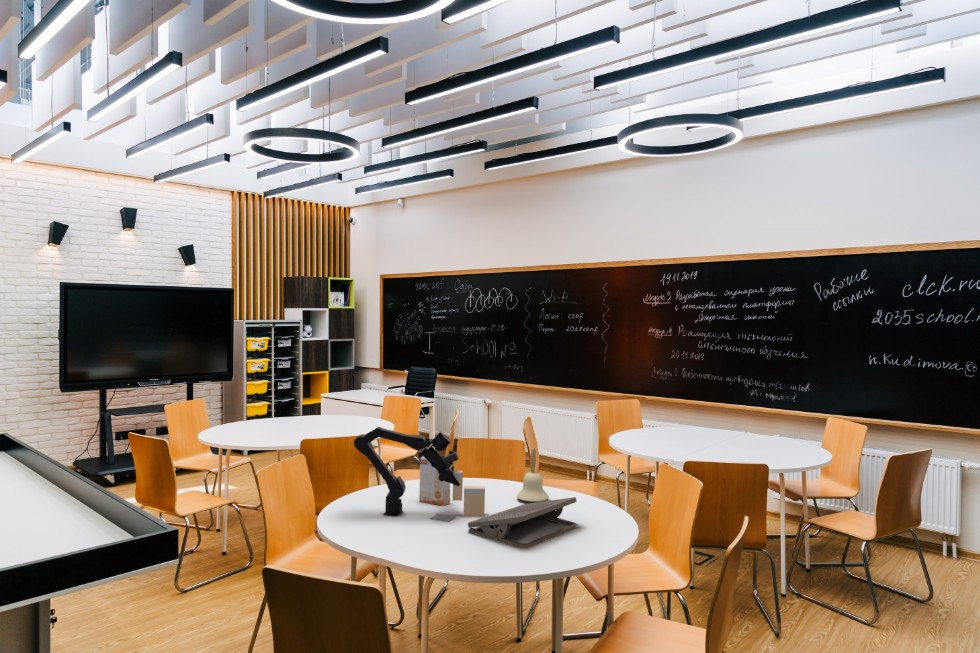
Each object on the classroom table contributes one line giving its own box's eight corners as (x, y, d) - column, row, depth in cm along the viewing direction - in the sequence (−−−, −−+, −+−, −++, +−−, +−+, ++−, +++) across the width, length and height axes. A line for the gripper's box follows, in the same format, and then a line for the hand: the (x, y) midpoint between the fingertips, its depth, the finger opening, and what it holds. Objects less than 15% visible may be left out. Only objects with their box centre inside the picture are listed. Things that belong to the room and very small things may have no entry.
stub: (452, 500, 275) (452, 472, 275) (453, 497, 279) (453, 470, 279) (461, 500, 275) (462, 473, 275) (462, 497, 279) (462, 470, 279)
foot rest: (524, 512, 284) (525, 484, 284) (581, 527, 264) (581, 497, 264) (464, 533, 255) (464, 501, 255) (522, 551, 235) (523, 517, 235)
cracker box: (450, 503, 294) (451, 458, 294) (442, 506, 289) (443, 460, 289) (426, 498, 302) (427, 454, 302) (418, 501, 297) (419, 456, 296)
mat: (430, 519, 270) (430, 518, 270) (437, 514, 277) (437, 513, 277) (449, 521, 267) (449, 520, 267) (455, 517, 274) (455, 516, 274)
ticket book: (463, 516, 275) (464, 488, 275) (463, 513, 280) (464, 485, 279) (484, 516, 275) (484, 488, 275) (484, 513, 280) (484, 486, 280)
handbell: (521, 505, 292) (522, 451, 292) (512, 496, 307) (513, 445, 307) (553, 503, 296) (554, 450, 296) (542, 495, 311) (543, 444, 311)
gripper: (446, 450, 268) (472, 476, 268) (449, 441, 286) (473, 466, 286) (427, 468, 268) (453, 494, 268) (431, 458, 286) (455, 483, 286)
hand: (459, 484), depth 277 cm, fingers closed on stub, 4 cm apart
